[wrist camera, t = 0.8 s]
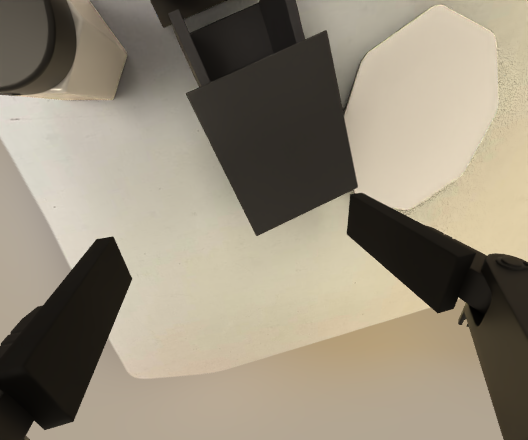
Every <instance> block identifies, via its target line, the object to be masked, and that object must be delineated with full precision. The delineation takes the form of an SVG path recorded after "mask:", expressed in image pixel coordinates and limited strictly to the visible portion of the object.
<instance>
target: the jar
mask: <svg viewBox="0 0 528 440" xmlns="http://www.w3.org/2000/svg"><path fill="white" fill-rule="evenodd" d="M126 58H127V52H126V50H125V49H124V48H123V46H122V45H121V43H120V42H119V41H118V39H117V38H116V37H115V35H114V34H113V32H112V31H111V30H110V28H109V27H108V26H107V24H106V23H105V21H104V20H103V19H102V17H101V16H100V14H99V13H98V12H97V10H96V9H95V8H94V6H93V5H92V3H91V2H90V1H89V0H0V95H9V96H23V97H34V98H45V99H56V100H113V99H114V97H115V94H116V90H117V87H118V84H119V81H120V77H121V74H122V71H123V68H124V65H125V61H126Z"/></svg>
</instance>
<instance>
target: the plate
mask: <svg viewBox="0 0 528 440" xmlns="http://www.w3.org/2000/svg"><path fill="white" fill-rule="evenodd" d="M498 107H499V92H498V66H497V41H496V38H495V36H494V34H493V32H492V31H490V30H488V29H487V28H485V27H483V26H481V25H479V24H477V23H475V22H474V21H472V20H470V19H468V18H466V17H464V16H463V15H461V14H459V13H457V12H455V11H453V10H452V9H450V8H448V7H446V6H444V5H436V6H432V7H431V8H429V9H428V10H427V11H425V12H424V13H422V14H421V15H420V16H418V17H417V18H415V19H414V20H412V21H411V22H410V23H408V24H407V25H405V26H404V27H403V28H401V29H400V30H398V31H397V32H396V33H394V34H393V35H391V36H390V37H388V38H387V39H386V40H384V41H383V42H381V43H380V44H379V45H377V46H376V47H374V48H373V49H371V50H370V51H369V52H367V53H366V55H365V56H364V58H363V59H362V60H361V62H360V65H359V68H358V71H357V74H356V77H355V80H354V83H353V86H352V90H351V93H350V96H349V99H348V102H347V105H346V108H345V111H344V119H345V124H346V129H347V134H348V139H349V144H350V149H351V154H352V159H353V164H354V169H355V174H356V179H357V184H358V188H356V189H354V190H353V191H354V193H355V194H356V193H364V194H366V195H368V196H370V197H371V198H373V199H375V200H377V201H379V202H381V203H383V204H385V205H387V206H389V207H390V208H395V209H401V210H410V209H413V208H415V207H416V206H418V205H419V204H421V203H422V202H424V201H425V200H427V199H428V198H430V197H431V196H433V195H434V194H436V193H437V192H439V191H440V190H442V189H443V188H445V187H446V186H448V185H449V184H451V183H452V182H454V181H455V180H457V179H458V178H460V177H461V176H462V174H463V173H464V172H465V171H466V169H467V167H468V165H469V163H470V162H471V160H472V158H473V156H474V154H475V152H476V151H477V149H478V147H479V145H480V143H481V141H482V140H483V138H484V136H485V134H486V132H487V130H488V129H489V127H490V125H491V123H492V121H493V119H494V118H495V116H496V114H497V110H498Z"/></svg>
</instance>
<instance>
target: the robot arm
mask: <svg viewBox="0 0 528 440" xmlns="http://www.w3.org/2000/svg"><path fill="white" fill-rule="evenodd" d="M347 235H348V236H350V237H351V238H352V239H353V240H354V241H355V242H356V243H358V244H359V245H360V246H361V247H362V248H363V249H364V250H366V251H367V252H368V253H369V254H370V255H371V256H372V257H374V258H375V259H376V260H377V261H378V262H379V263H381V264H382V265H383V266H384V267H385V268H386V269H387V270H389V271H390V272H391V273H392V274H393V275H394V276H395V277H397V278H398V279H399V280H400V281H401V282H402V283H403V284H405V285H406V286H407V287H408V288H409V289H410V290H412V291H413V292H414V293H415V294H416V295H417V296H418V297H420V298H421V299H422V300H423V301H424V302H425V303H426V304H428V305H429V306H430V307H431V308H432V309H433V310H435V311H436V312H437V313H441V312H444V311H448V310H451V309H454V307H455V304H456V302H457V299H458V297H459V298H460V299H462V300H463V301H464V302H466V304H465V306H464V308H463V311H462V313H461V315H460V318H459V320H458V324H459V325H462V323H463V321H464V320H465V319H467V322H468V324H467V327H469V329H470V332H471V335H472V338H473V342H474V345H475V348H476V351H477V355H478V358H479V361H480V364H481V367H482V371H483V374H484V377H485V381H486V384H487V387H488V390H489V393H490V397H491V400H492V403H493V406H494V410H495V413H496V416H497V419H498V423H499V426H500V429H501V433H502V436H503V439H504V440H528V262H526V261H524V260H522V259H519V258H517V257H514V256H510V255H505V254H489V255H488V256H486V255H485V254H483V253H481V252H479V251H477V250H475V249H473V248H471V247H469V246H467V245H465V244H463V243H461V242H459V241H457V240H456V239H452V237H450V236H448V235H446V234H445V235H444V233H442V232H440V231H438V230H436V229H434V228H432V227H429V226H425V225H423V224H421V223H419V222H417V221H415V220H413V219H411V218H409V217H407V216H406V215H404V214H402V213H400V212H398V211H396V210H394V209H392V208H390V207H389V206H387V205H385V204H383V203H381V202H379V201H377V200H375V199H373V198H371V197H370V196H368V195H366V194H364V193H356V194H351V195H350V205H349V216H348V226H347ZM131 281H132V277H131V275H130V273H129V271H128V268H127V266H126V264H125V262H124V259H123V257H122V255H121V253H120V250H119V248H118V246H117V244H116V241H115V239H114V237H107V238H102V239H96V241H95V242H94V243H93V244H92V246H91V247H90V248H89V249H88V251H87V252H86V253H85V254H84V256H83V257H82V258H81V259H80V260H79V262H78V263H77V264H76V265H75V267H74V268H73V269H72V270H71V272H70V273H69V274H68V275H67V277H66V278H65V279H64V280H63V282H62V283H61V284H60V285H59V287H58V288H57V289H56V290H55V292H54V293H53V294H52V295H51V296H50V298H49V299H48V300H47V301H46V303H45V304H44V305H43V306H39V307H37V308H35V309H34V310H33V311H32V312H30V313H29V314H28V315H26V316H25V317H24V318H23V319H22V320H21V321H20V322H19V323H18V324H17V325H16V327H15V328H14V329H13V330H12V331H11V334H10V335H8V336H7V337H6V338H5V339H4V341H3V342H2V343H1V346H0V440H30V439H29V438H28V437H27V436H26V434H27V432H28V430H29V428H30V427H31V425H32V423H33V421H35V422H37V423H38V424H39V425H40V426H41V427H42V428H43V429H44V430H46V429H50V428H53V427H57V426H60V425H63V424H66V423H70V422H73V421H74V419H75V416H76V414H77V412H78V409H79V407H80V404H81V402H82V399H83V397H84V394H85V392H86V390H87V387H88V385H89V382H90V380H91V378H92V375H93V373H94V370H95V368H96V365H97V363H98V361H99V358H100V356H101V353H102V351H103V348H104V346H105V344H106V341H107V339H108V336H109V334H110V332H111V329H112V327H113V324H114V322H115V319H116V317H117V315H118V312H119V310H120V307H121V305H122V302H123V300H124V298H125V295H126V293H127V290H128V288H129V286H130V283H131Z"/></svg>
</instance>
